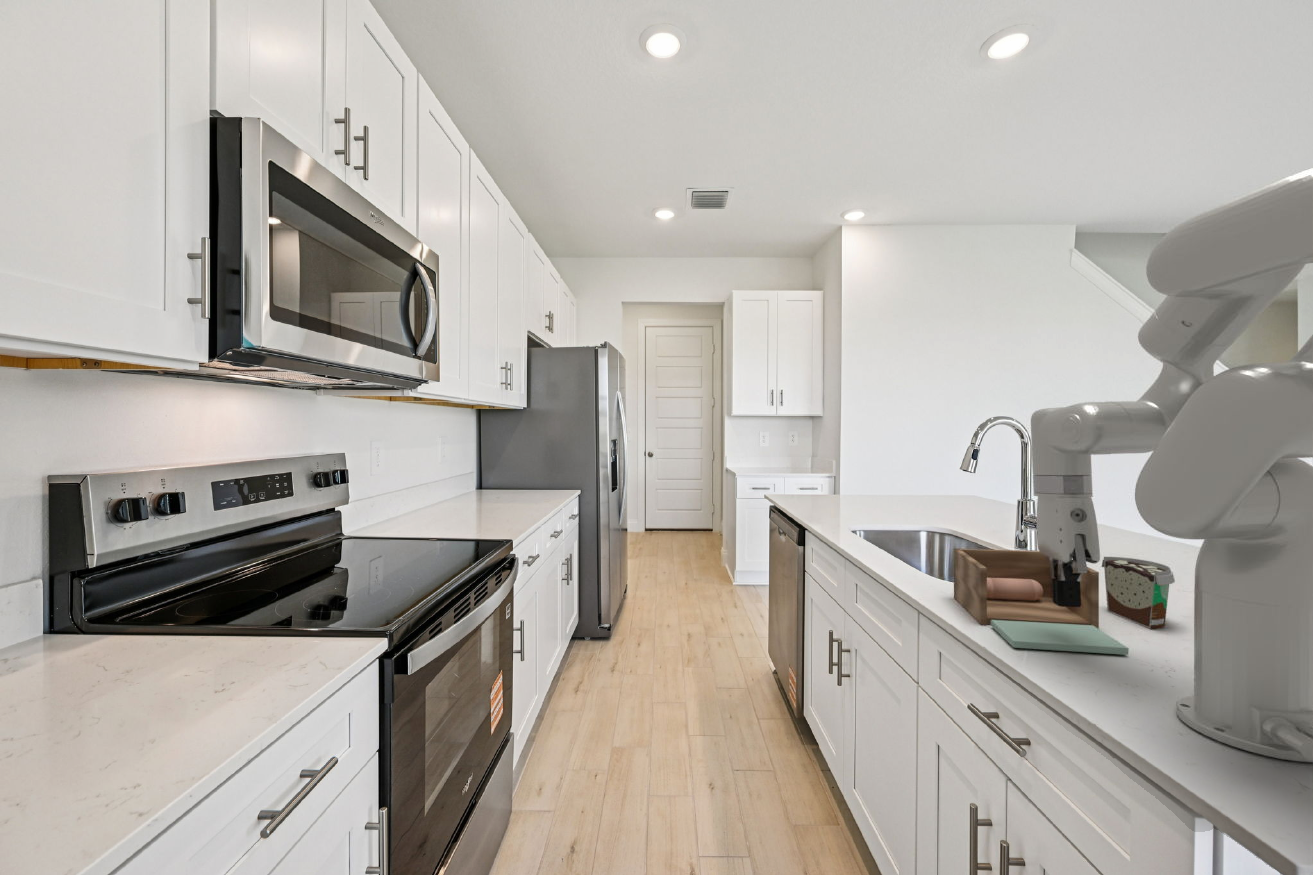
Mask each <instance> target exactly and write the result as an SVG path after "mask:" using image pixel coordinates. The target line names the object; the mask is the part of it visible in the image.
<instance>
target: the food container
mask: <svg viewBox="0 0 1313 875" xmlns="http://www.w3.org/2000/svg"><path fill="white" fill-rule="evenodd" d="M1101 567H1102V568H1103V569H1104V580H1105V592H1106V593H1105V595H1106V605H1107V607H1106V608H1107V612H1108V613H1111V614H1113V615H1114V616H1117V617H1119V618H1122V619H1124V620H1127V621H1129V620H1130V621H1129V622H1131V623H1134V624H1137V625H1138V624H1139V626H1141V627H1143V628H1146V629H1148V630H1158V629H1159V630H1160V629H1163V628H1164V627H1165V626H1166V616H1167V608H1168V599H1169V592H1170V591H1169V590H1170V585H1173V584H1174V583H1175V582H1176V580H1175V576H1174V572H1173V571H1172V569H1171V567H1170V566H1168V565H1166V564H1163V563H1160V562H1154V561H1150V560H1146V559H1139V558H1131V557H1122V556H1121V557H1120V556H1103V559H1102V562H1101Z"/></svg>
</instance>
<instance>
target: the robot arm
mask: <svg viewBox="0 0 1313 875" xmlns="http://www.w3.org/2000/svg"><path fill="white" fill-rule="evenodd" d="M1146 263H1147V264H1146V266H1145V267H1146V268H1145V269H1146V270H1145V271H1146V275H1145V276H1146V278H1147V281H1148V283H1149V285H1150V286H1151V287H1152V288H1153V289H1154V290H1155V291H1156V292H1158V293H1160V294H1162V295H1165V296H1166V297H1165V298H1164V299H1163V301H1162V302H1161V303H1160V304H1159V306H1157V308H1156V309H1155V310H1154V311H1153V313H1152V314H1151V315H1150V316H1149V318H1147V320H1146V321H1145V322H1144V324H1142V326H1141V327H1140V328H1139V331H1138V333H1137V334H1138V335H1137V339H1138V343H1139V344H1140V346H1141V347H1142V348H1143V350H1145V352H1146V353H1148V355H1150V356H1151V357H1152V358H1154V359H1156V360H1157V361H1159V362H1160V363H1162V368H1161V370H1160V373H1159V375H1158V377H1157V378H1156V379H1155V381H1154V382H1153V383H1152V384H1151V386H1150V387H1148V389H1147V390H1146V391H1145V392H1144V393H1143V395H1142V396H1141V397H1139V399H1137V400H1136V401H1132V400H1130V401H1127V400H1126V401H1088V402H1087V401H1086V402H1078V403H1075V404H1071V405H1068V406H1065V407H1064V406H1062V407H1048V408H1041V409H1037V410H1035V411H1034V412H1033V413H1031V414H1032V415H1031V417H1030V435H1031V438H1030V439H1031V440H1030V441H1031V457H1032V458H1031V459H1032V460H1031V462H1032V463H1031V464H1032V465H1031V466H1032V486H1033V496H1034V497H1037V501H1036V544H1037V550H1038V551H1040V552H1041V553H1042V554H1044V555H1046V560H1047V561H1048V562H1049V563H1050V571H1051V576H1052V592H1053V603H1054V604H1056V605H1058V606H1060V607H1080V606H1081V589H1080V581H1081V577H1082V573H1087V567H1088V564H1089V563H1090V564H1098V563H1099V562H1100V560H1101V550H1100V540H1099V539H1100V538H1099V530H1098V520H1097V516H1096V511H1095V507H1094V503H1093V499H1092V498H1093V497H1094V495H1093V494H1094V493H1093V475H1092V474H1093V472H1092V469H1093V468H1092V455H1094V456H1097V455H1099V456H1100V455H1117V454H1119V455H1120V454H1123V455H1124V454H1145V453H1146V454H1147V453H1151V454H1150V455H1149V457H1148V458H1147V460H1146V461H1145V463H1144V465H1143V467H1142V469H1141V470H1140V473H1139V474H1138V477H1137V479H1136V484H1135V489H1134V500H1135V505H1136V509H1137V511H1138V514H1139V515H1140V517H1141V518H1142V519H1143V521H1145V523H1146V524H1147V525H1148V526H1150V527H1151V528H1152V529H1154V530H1155V531H1157V532H1159V533H1161V534H1163V535H1165V536H1168V537H1172V538H1177V539H1182V540H1203V542H1202V544H1201V546H1200V548H1199V551H1198V554H1197V558H1196V561H1195V562H1196V563H1195V567H1194V589H1193V590H1194V591H1193V592H1194V593H1193V594H1194V596H1193V597H1194V598H1193V600H1194V601H1193V602H1194V603H1193V604H1194V605H1193V607H1194V608H1193V609H1194V610H1193V612H1194V613H1193V619H1194V620H1193V621H1194V622H1193V624H1194V625H1193V627H1194V628H1193V629H1194V630H1193V631H1194V633H1193V639H1194V641H1193V647H1194V648H1193V695H1189V696H1185V697H1181V698H1179V699H1178V700H1177V701H1176V704H1175V711H1176V714H1177V717H1178V718H1179V719H1180V720H1181V721H1182V722H1183V723H1184V724H1186V725H1187V726H1189V727H1190V728H1192V729H1193V730H1195V731H1196V732H1198V733H1200V734H1202V735H1204V736H1206V737H1209V738H1210V739H1213V740H1215V741H1218V742H1220V743H1222V744H1226V745H1228V746H1231V747H1233V748H1237V749H1239V750H1243V751H1246V752H1251V753H1254V754H1257V755H1261V756H1265V757H1269V758H1270V757H1271V758H1274V759H1279V760H1285V761H1286V760H1287V761H1291V762H1292V761H1293V762H1301V763H1303V762H1304V763H1313V465H1311V464H1310V463H1307V462H1306V461H1304V460H1302V459H1303V458H1305V459H1308V458H1310V459H1311V458H1313V334H1312V335H1311V336H1310V337H1309V338H1308V339H1307V341H1306V342H1305V343H1304V344H1303V345H1302V347H1301V348H1300V349H1299V350H1297V353H1295V354H1294V356H1292V357H1291V358H1290V359H1289V360H1287V361H1284V362H1266V363H1265V362H1262V363H1250V364H1244V365H1239V366H1234V367H1232V368H1228V369H1226V370H1224V371H1221V372H1219V373H1217V374H1215V373H1214V366H1215V363H1216V362H1217V361H1218V359H1220V357H1221V356H1222V355H1223V354H1224V353H1225V352H1226V351H1227V350H1228V349H1229V348H1230V347H1231V346H1232V345H1233V344H1234V343H1235V341H1237V340H1238V338H1239V337H1240V336H1241V335H1242V334H1243V333H1244V332H1245V331H1246V330H1247V329H1248V328H1249V327H1250V326H1251V325H1252V324H1253V323H1254V321H1256V319H1257V318H1258V317H1259V316H1260V315H1261V314H1262V313H1263V312H1264V311H1265V310H1266V309H1267V308H1268V307H1269V306H1270V305H1271V304H1272V303H1273V302H1274V301H1275V299H1276V298H1278V297H1279V295H1281V293H1282V292H1284V291H1285V289H1287V287H1288V286H1289V285H1290V284H1291V283H1292V282H1293V281H1294V280H1295V279H1296V278H1297V277H1298V275H1299V274H1300V273H1301V271H1302V270H1303V269H1304V267H1305V266H1306V265H1308V264H1313V167H1311V168H1309V169H1305V170H1303V171H1299V172H1296V173H1295V174H1292V175H1290V176H1287V177H1283V179H1280V180H1278V181H1275V182H1272V183H1271V184H1270V183H1269V184H1268V185H1265V186H1263V187H1260V188H1258V189H1255V190H1253V191H1251V192H1248V193H1246V194H1243V195H1242V196H1241V195H1240V196H1239V197H1237V198H1234V199H1231V200H1230V201H1227V202H1224V203H1222V204H1219V205H1217V206H1215V207H1213V208H1210V209H1208V210H1205V211H1203V212H1201V213H1199V214H1196V215H1194V216H1192V217H1190V218H1188V219H1186V220H1184V221H1183V222H1181V223H1179V224H1177V226H1175V227H1174V228H1172V229H1171V230H1170V231H1168V232H1167V233H1166V234H1164V236H1162V237H1161V239H1160V240H1158V242H1157V243H1156V244H1155V246H1154V247H1153V249H1152V251H1151V252H1150V254H1149V257H1148V259H1147V261H1146ZM1214 374H1215V375H1214ZM1087 563H1088V564H1087Z"/></svg>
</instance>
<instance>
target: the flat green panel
mask: <svg viewBox="0 0 1313 875" xmlns="http://www.w3.org/2000/svg"><path fill="white" fill-rule="evenodd" d="M990 627H992V628H993V629H994V631H996V632H997V633H998V634H999V635H1000V636H1001V637H1002V638H1003V639H1004V640H1005V641H1006V642H1007V643H1009V645H1011V647H1013V648H1015V649H1018V648H1019V649H1029V650H1030V649H1031V650H1032V649H1033V650H1045V651H1046V650H1047V651H1048V650H1049V651H1061V652H1062V651H1063V652H1065V651H1066V652H1077V653H1078V652H1080V653H1095V654H1109V655H1125V656H1126V655H1127V656H1129V652H1130V651H1129V649H1130V648H1129V647H1127V646H1126V645H1124V644H1123V643H1121V642H1119V641H1118V640H1117V639H1115V638H1114V637H1112V636H1110V635H1109V634H1107V633H1106V632H1104V631H1102V630H1101V629H1100V628H1099V629H1098V628H1096V627H1095V626H1093V625H1075V624H1057V623H1039V622H1021V621H1003V620H991V625H990Z"/></svg>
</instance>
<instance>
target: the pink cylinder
mask: <svg viewBox="0 0 1313 875" xmlns="http://www.w3.org/2000/svg"><path fill="white" fill-rule="evenodd" d="M1042 595H1043V588H1042V586H1041V585H1040V584H1039V583H1038V582H1037V581H1035V580H1032V579H1012V578H987V598H988V599H1003V600H1024V601H1035V600H1038V599H1040V598H1041V597H1042Z"/></svg>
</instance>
